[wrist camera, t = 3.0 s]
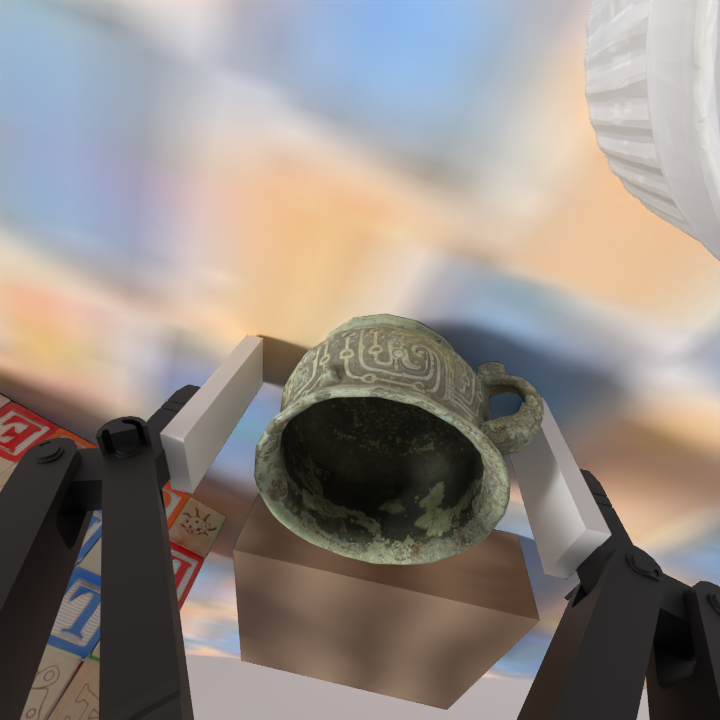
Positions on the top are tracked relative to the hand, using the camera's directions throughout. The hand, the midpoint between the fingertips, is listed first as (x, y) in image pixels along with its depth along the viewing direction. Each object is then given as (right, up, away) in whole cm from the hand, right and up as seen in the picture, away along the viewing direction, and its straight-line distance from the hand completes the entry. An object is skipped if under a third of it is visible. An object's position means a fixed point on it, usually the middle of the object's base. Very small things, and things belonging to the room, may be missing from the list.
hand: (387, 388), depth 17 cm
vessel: (0, 0, 0) cm, 0 cm away
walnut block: (-1, -14, +10) cm, 17 cm away
